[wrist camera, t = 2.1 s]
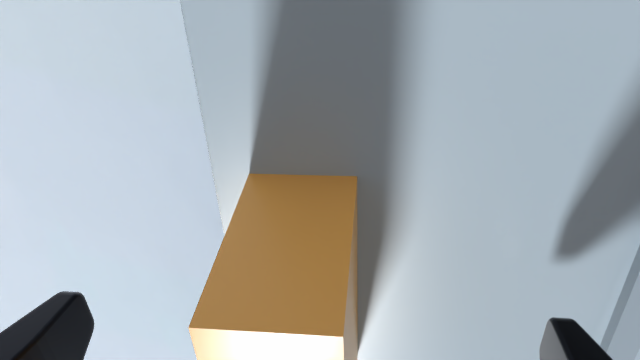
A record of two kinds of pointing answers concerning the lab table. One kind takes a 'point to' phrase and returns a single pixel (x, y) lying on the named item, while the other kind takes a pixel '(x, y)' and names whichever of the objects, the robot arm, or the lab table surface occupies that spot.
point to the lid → (419, 176)
